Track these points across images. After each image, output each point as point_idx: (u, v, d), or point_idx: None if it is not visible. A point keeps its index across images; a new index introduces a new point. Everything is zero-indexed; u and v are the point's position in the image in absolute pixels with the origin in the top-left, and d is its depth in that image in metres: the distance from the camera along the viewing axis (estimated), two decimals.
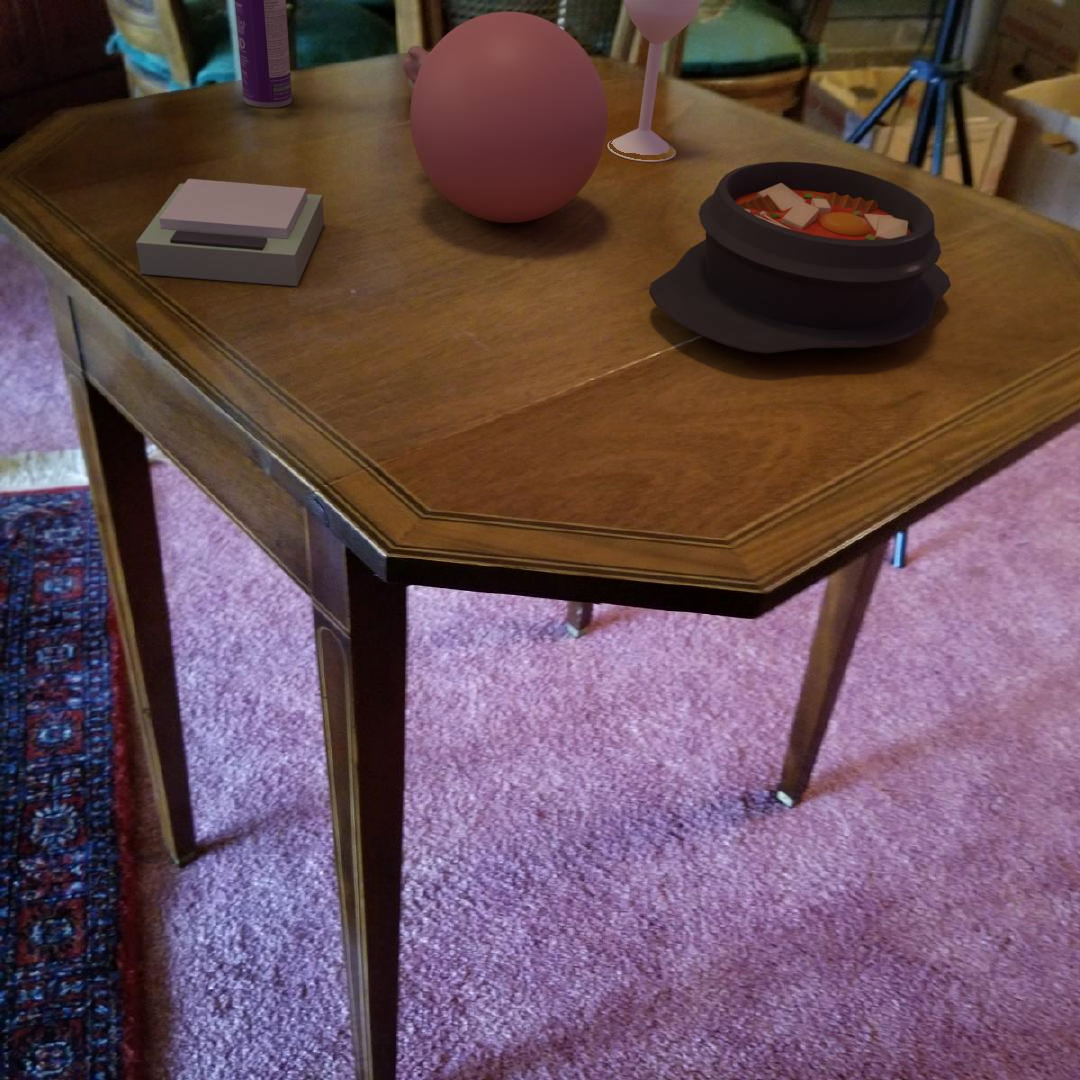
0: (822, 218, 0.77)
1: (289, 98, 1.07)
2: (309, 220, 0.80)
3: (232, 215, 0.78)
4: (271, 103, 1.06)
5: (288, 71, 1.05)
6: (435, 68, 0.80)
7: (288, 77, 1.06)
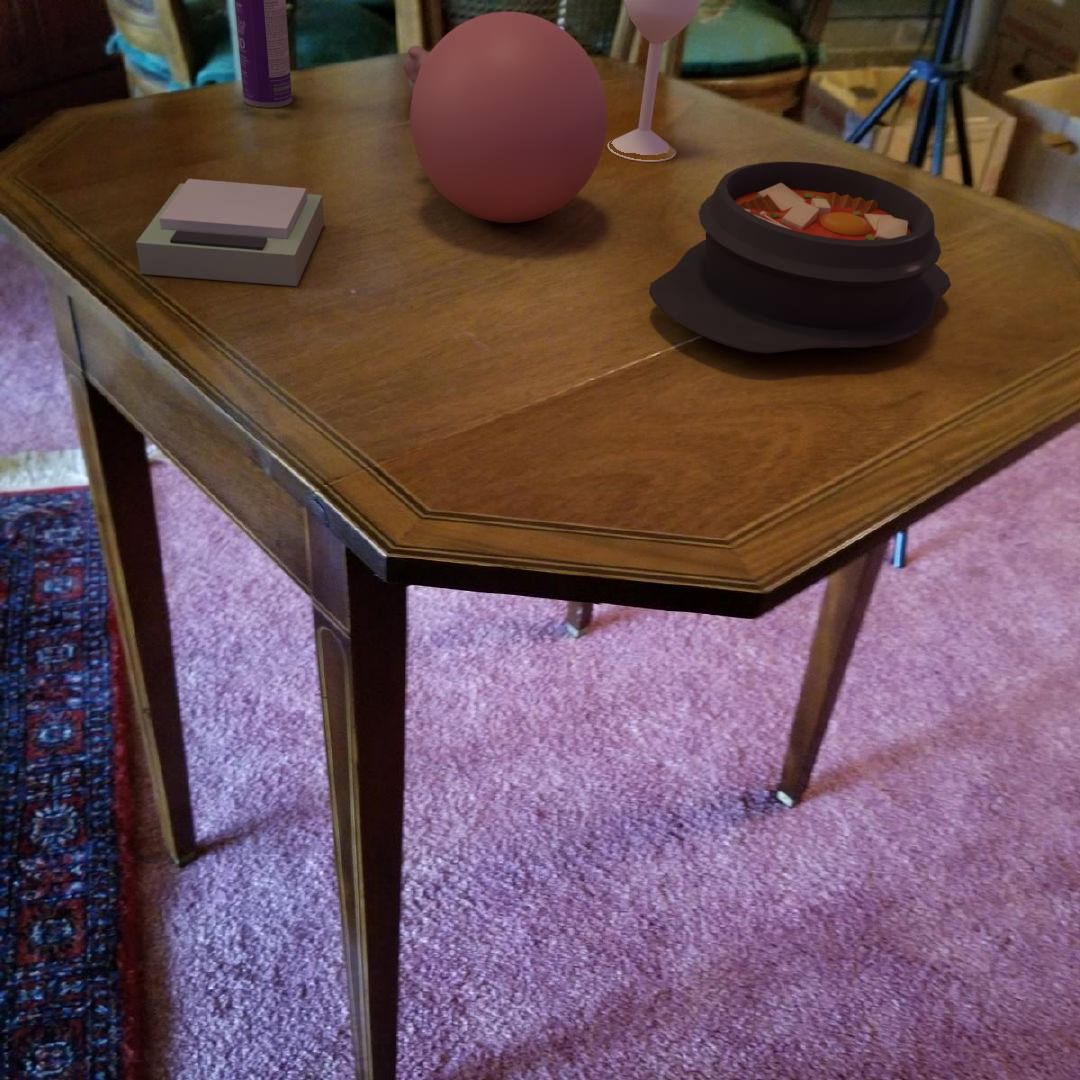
0: (822, 218, 0.77)
1: (289, 98, 1.07)
2: (309, 220, 0.80)
3: (232, 215, 0.78)
4: (271, 103, 1.06)
5: (288, 71, 1.05)
6: (435, 68, 0.80)
7: (288, 77, 1.06)
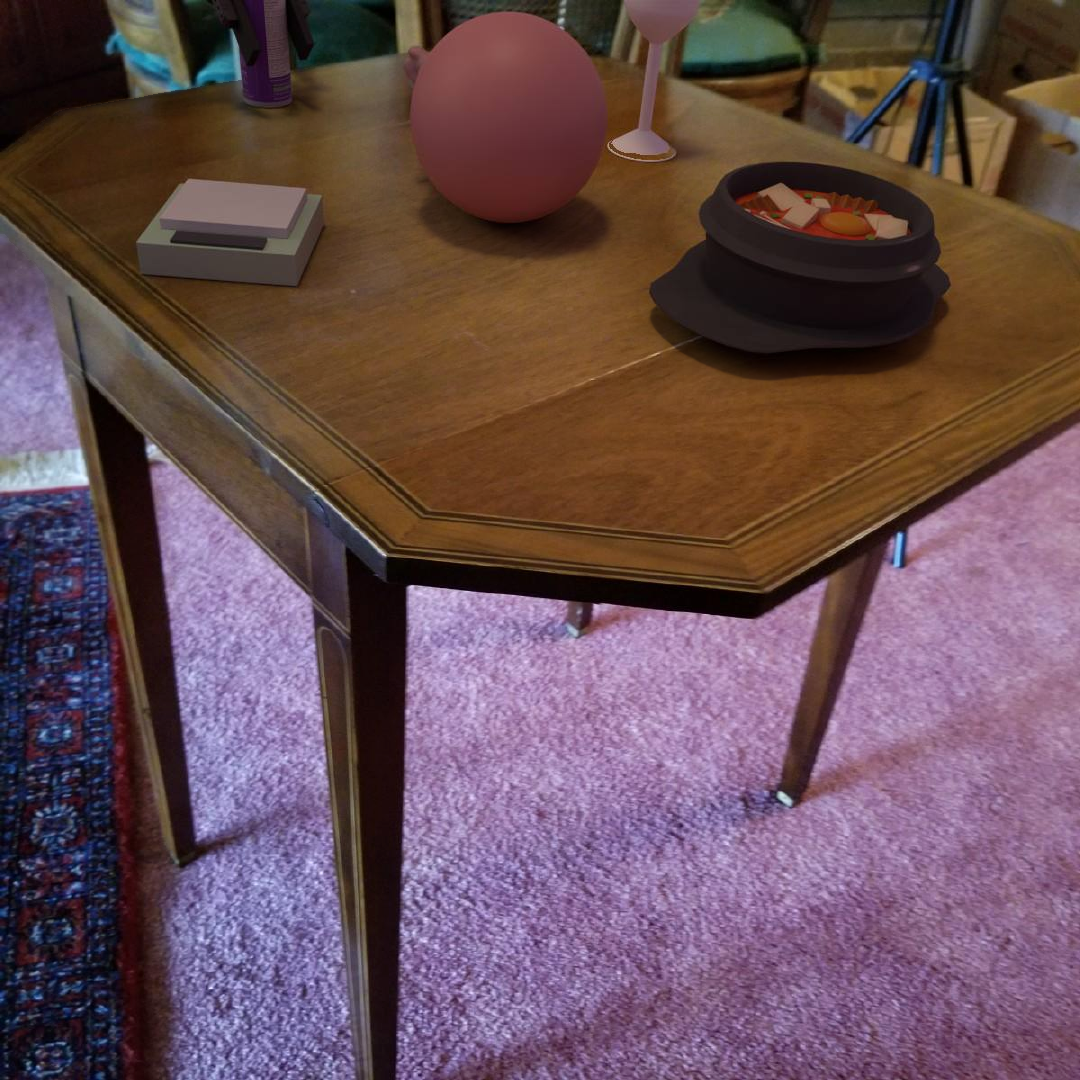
0: (822, 218, 0.77)
1: (289, 98, 1.07)
2: (309, 220, 0.80)
3: (232, 215, 0.78)
4: (271, 103, 1.06)
5: (288, 71, 1.05)
6: (435, 68, 0.80)
7: (288, 77, 1.06)
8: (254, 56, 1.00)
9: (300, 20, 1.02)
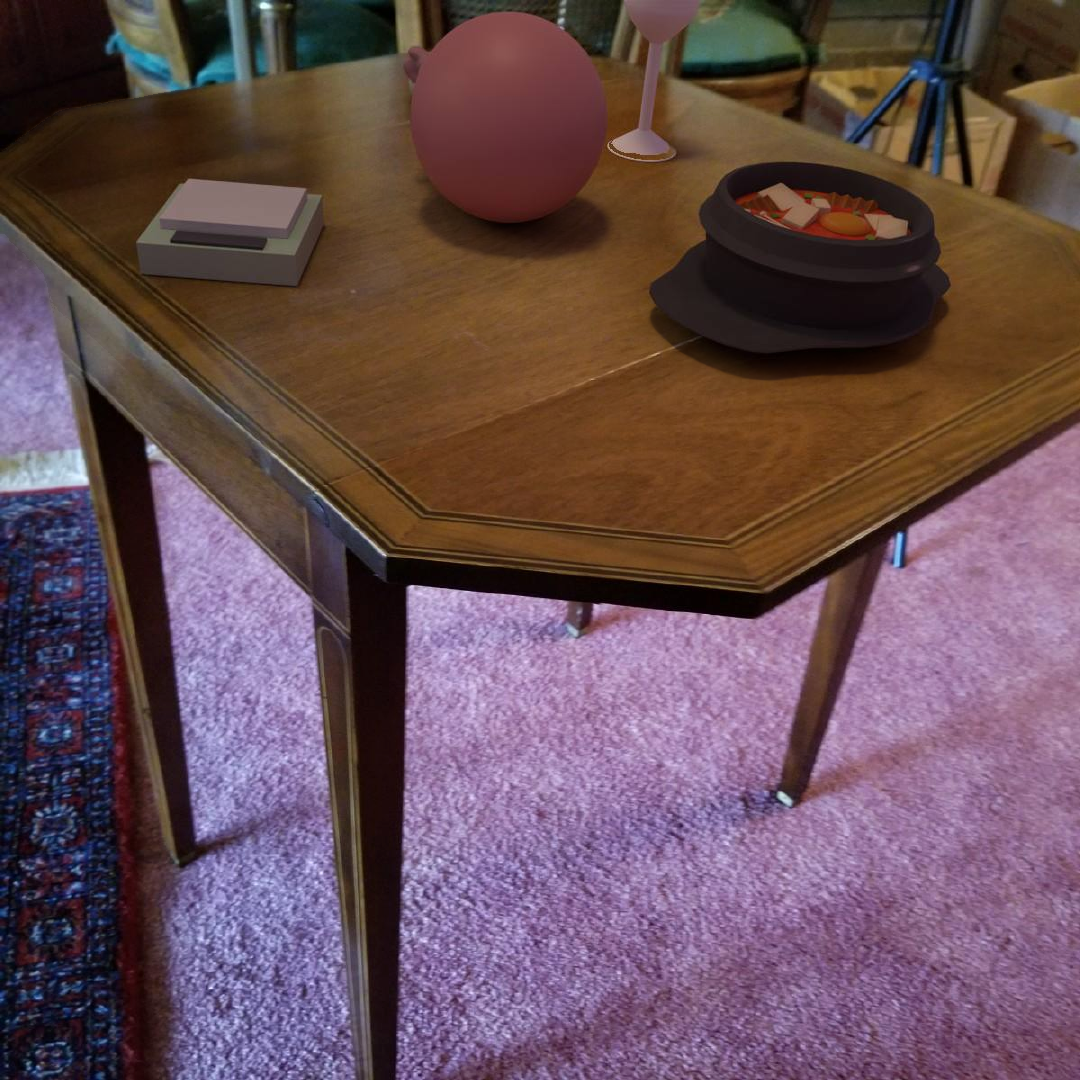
0: (822, 218, 0.77)
1: None
2: (309, 220, 0.80)
3: (232, 215, 0.78)
4: None
5: None
6: (435, 68, 0.80)
7: None
8: None
9: None
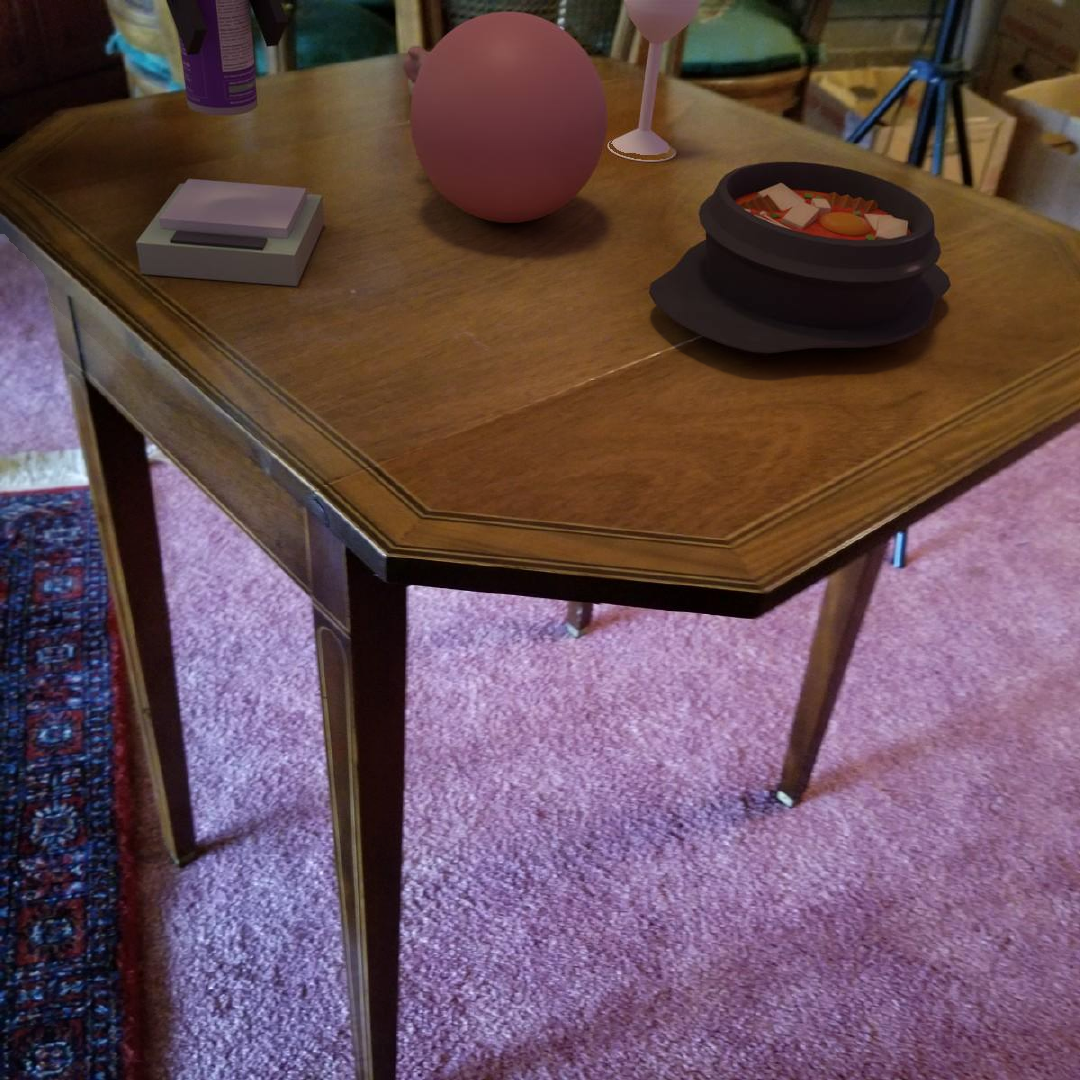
0: (822, 218, 0.77)
1: (253, 101, 0.74)
2: (309, 220, 0.80)
3: (232, 215, 0.78)
4: (226, 109, 0.73)
5: (251, 62, 0.73)
6: (435, 68, 0.80)
7: (251, 71, 0.73)
8: (197, 40, 0.68)
9: None
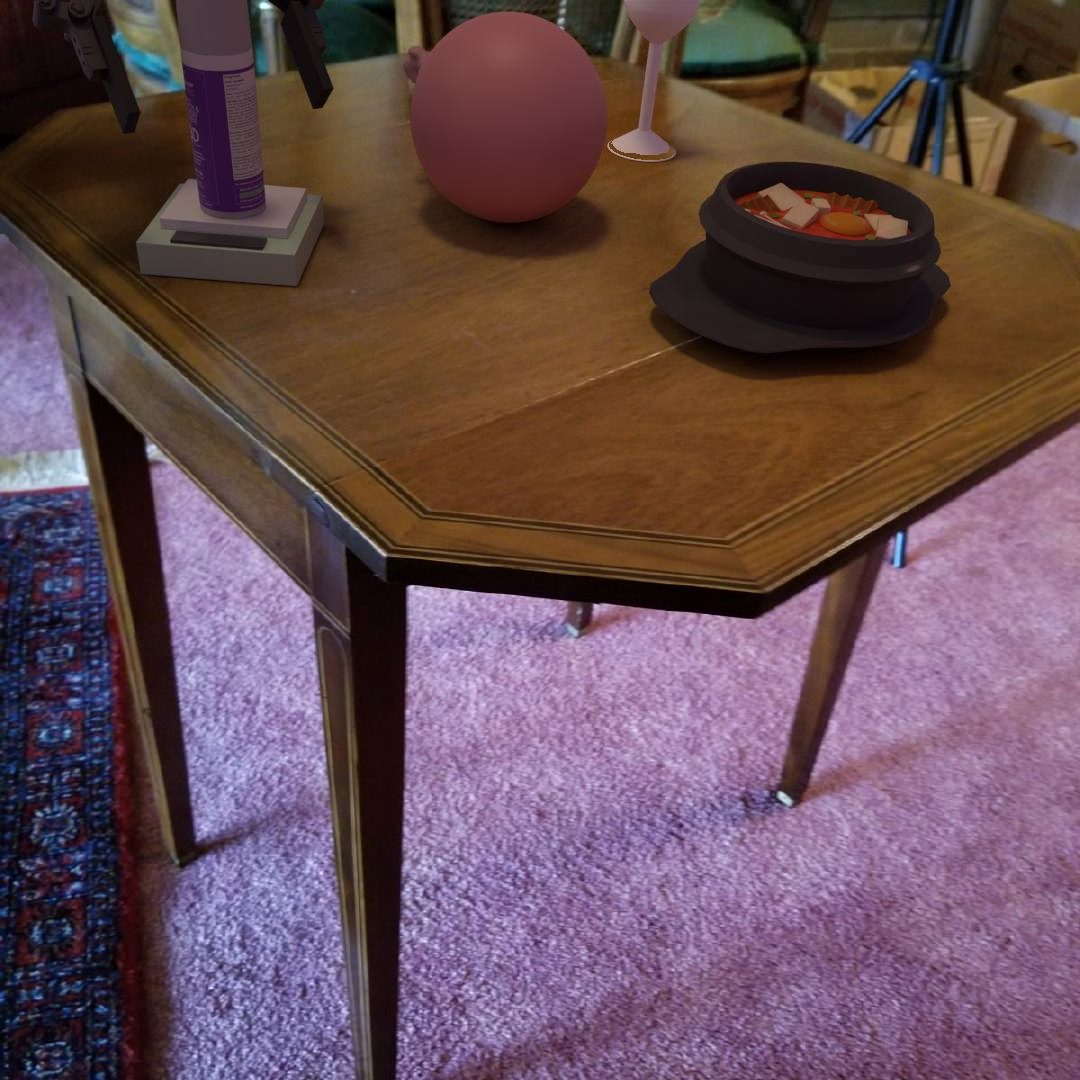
0: (822, 218, 0.77)
1: (262, 204, 0.79)
2: (309, 220, 0.80)
3: None
4: (237, 213, 0.77)
5: (260, 169, 0.77)
6: (435, 68, 0.80)
7: (260, 177, 0.77)
8: (132, 121, 0.70)
9: (314, 56, 0.75)
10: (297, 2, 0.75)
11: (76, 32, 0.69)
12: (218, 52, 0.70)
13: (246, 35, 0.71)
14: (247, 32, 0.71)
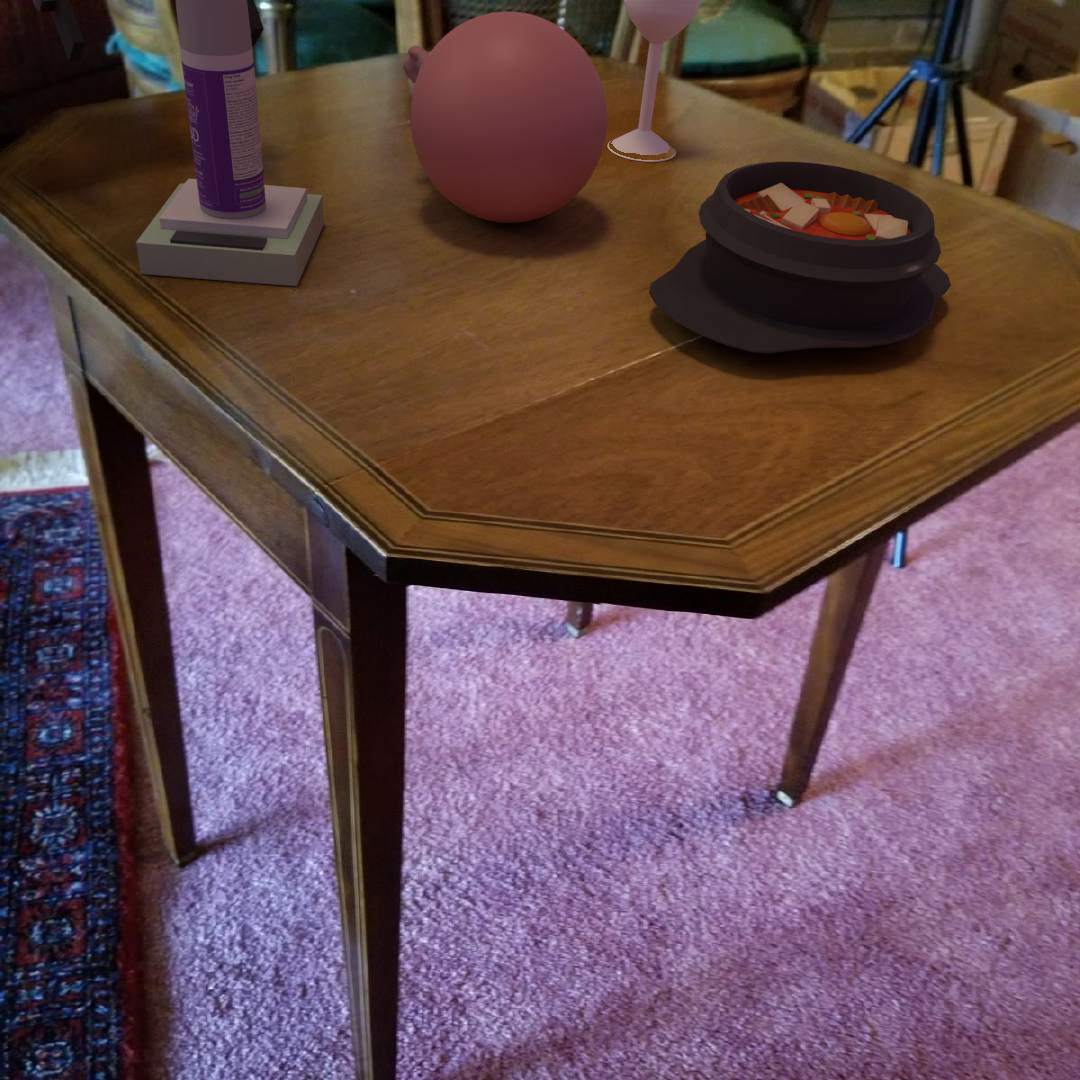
0: (822, 218, 0.77)
1: (262, 204, 0.79)
2: (309, 220, 0.80)
3: None
4: (237, 213, 0.77)
5: (260, 169, 0.77)
6: (435, 68, 0.80)
7: (260, 177, 0.77)
8: (77, 50, 0.78)
9: None
10: None
11: None
12: (218, 52, 0.70)
13: (246, 35, 0.71)
14: (247, 32, 0.71)
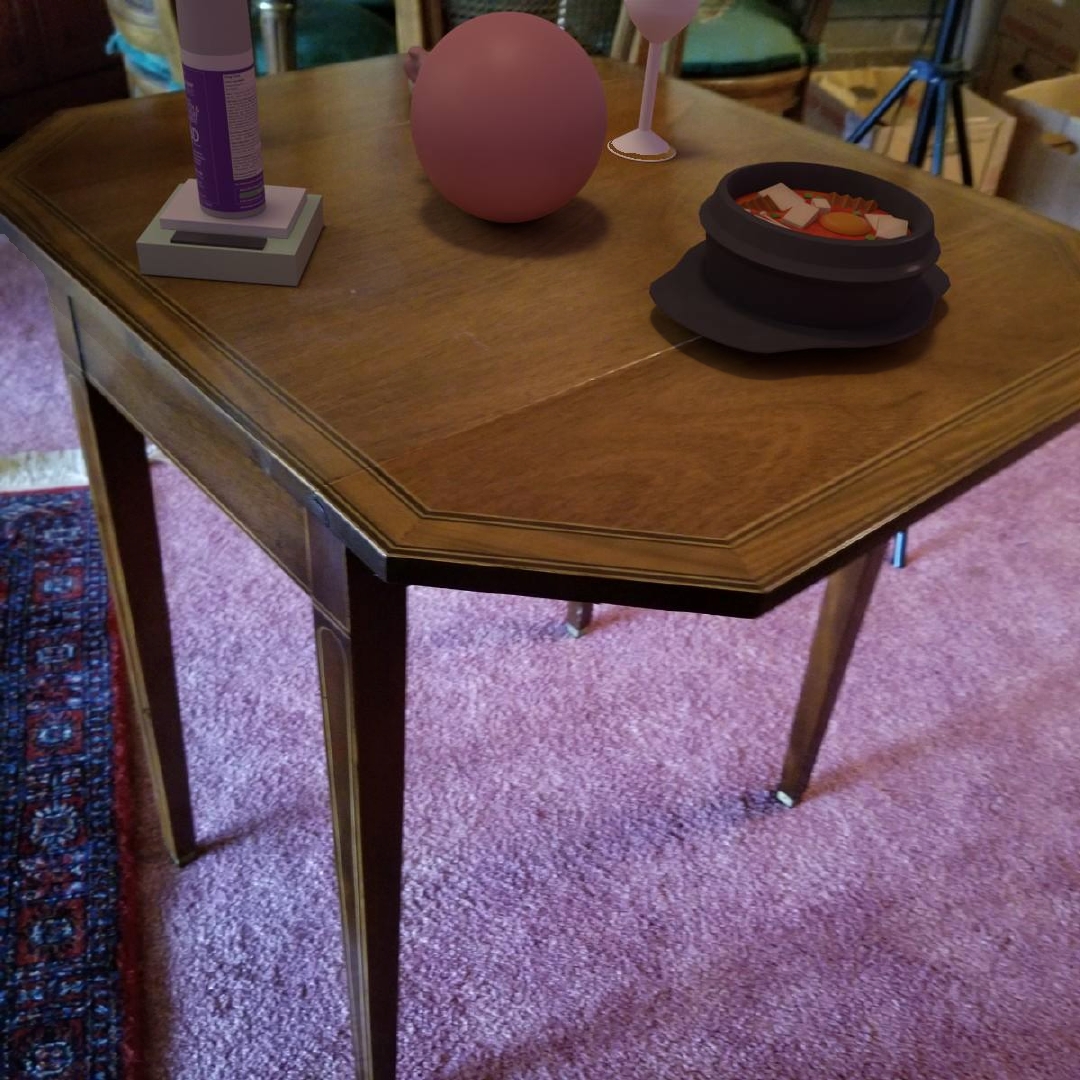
0: (822, 218, 0.77)
1: (262, 204, 0.79)
2: (309, 220, 0.80)
3: None
4: (237, 213, 0.77)
5: (260, 169, 0.77)
6: (435, 68, 0.80)
7: (260, 177, 0.77)
8: None
9: None
10: None
11: None
12: (218, 52, 0.70)
13: (246, 35, 0.71)
14: (247, 32, 0.71)
